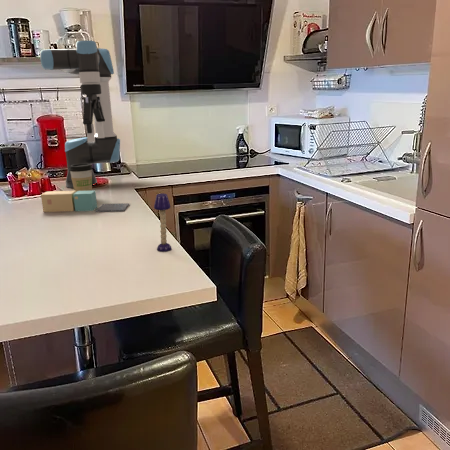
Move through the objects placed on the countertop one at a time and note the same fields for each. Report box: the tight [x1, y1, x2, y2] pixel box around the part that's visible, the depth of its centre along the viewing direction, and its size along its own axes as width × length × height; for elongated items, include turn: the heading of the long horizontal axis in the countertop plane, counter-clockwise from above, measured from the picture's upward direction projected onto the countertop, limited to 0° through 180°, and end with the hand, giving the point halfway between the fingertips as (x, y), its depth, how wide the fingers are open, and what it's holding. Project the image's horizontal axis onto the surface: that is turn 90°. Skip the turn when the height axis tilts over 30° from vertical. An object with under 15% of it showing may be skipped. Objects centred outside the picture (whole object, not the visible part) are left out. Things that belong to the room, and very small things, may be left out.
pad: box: [94, 202, 130, 213], centre depth 186 cm, size 11×11×1 cm
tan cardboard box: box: [40, 190, 76, 213], centre depth 186 cm, size 6×13×7 cm, turn 89°
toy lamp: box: [153, 193, 173, 253], centre depth 134 cm, size 5×5×17 cm
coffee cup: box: [69, 164, 93, 192], centre depth 202 cm, size 10×10×15 cm
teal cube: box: [73, 189, 98, 212], centre depth 186 cm, size 6×7×7 cm
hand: (96, 139), depth 184 cm, fingers open, 13 cm apart
